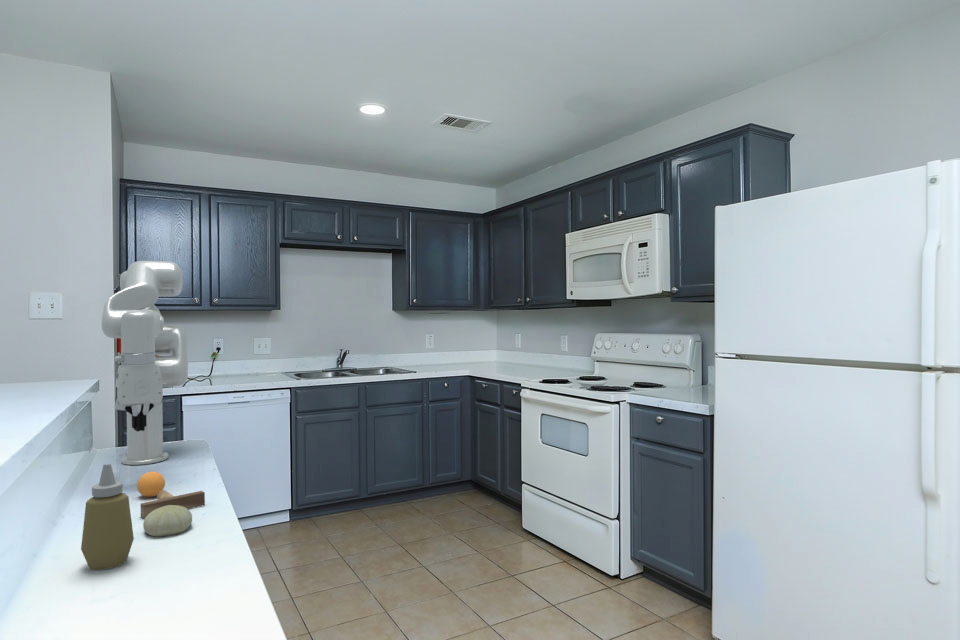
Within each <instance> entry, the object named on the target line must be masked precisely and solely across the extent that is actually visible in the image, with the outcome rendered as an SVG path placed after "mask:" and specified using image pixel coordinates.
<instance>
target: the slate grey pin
mask: <svg viewBox="0 0 960 640" xmlns="http://www.w3.org/2000/svg"><path fill="white" fill-rule="evenodd" d="M112 470H113V473H114V477H115V481H118V482H121V481H120V480H121V477H120V476H121V475H120V470H119V469H112Z"/></svg>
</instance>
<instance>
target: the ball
mask: <svg viewBox="0 0 960 640" xmlns="http://www.w3.org/2000/svg"><path fill="white" fill-rule="evenodd" d="M165 486H166V480H165V477H164V476H163V475H162V474H161V473H160V472H157V471H148V472H146V473H143V474H142V475H141V476H140V477H139V479H138V481H137V484H136V487H137V490H138V492H139V494H140V495H142V496H143V497H146V498H147V497H148V498H152V497H157V493H158V492H159V491H161V490H164V489H165Z"/></svg>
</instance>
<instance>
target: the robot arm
mask: <svg viewBox="0 0 960 640" xmlns="http://www.w3.org/2000/svg"><path fill="white" fill-rule="evenodd" d="M183 280H184V279H183V272H182V269H181V267H180V265H178V263H176V262H174V261H167V260H165V261H164V260H138V261H134V262H132V263H131V264H130V265H129V266H128V267H127V270H126V271H123V272H121V275H120V277H119V287H120V288H119V289H120V290H119V291H117V292H115V293H114V294H112V295H111V296H110V297H109V298H107V300H106V301H105V303H104V306H103V311H102V317H101V330H102V332H103V334H104V335H105V337H107V338H109V339H120V354H119V355H118V356H117V355H116V356H115V357H114V362H115V363H117V362H119V363H120V364H119V365H118V367H117V372H116V378H115V388H114V398H115V399H114V400H115V406H114V409H115V410H118V411H126V453H127V454H126V455H125V456H123V457H122V458H121V460H120V462H121V464H123V465H128V466H129V465H130V466H131V465H132V466H139V465H140V466H141V465H149V464H150V465H151V464H154V463H160V462H162V461H165V460H168V459H169V453H168V452H166V451H164V445H163V443H164V439H163V438H164V437H163V436H164V434H163V433H164V432H163V430H164V429H163V428H164V426H163V423H164V422H163V419H164V418H163V398H164V397H163V396H164V392H163V388H168V387H169V388H170V387H172V388H173V387H181V386H183V385H185V384H186V383H187V380H188V378H189V377H188V376H189V362H188V360H189V359H188V337H187V332H186V330H185V328H184V327H183V326H182V325H180V324H165V319H164V316H162V314H161V311H160V309H159V308H158V307H157V306H156V305H155V304H156V303H157V302H158V299H159V297H177V296H179V295H180V294H181V292H182V290H183V285H184V282H183Z"/></svg>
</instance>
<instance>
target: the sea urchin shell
mask: <svg viewBox="0 0 960 640" xmlns="http://www.w3.org/2000/svg"><path fill="white" fill-rule="evenodd" d="M192 523H193V513H192V512H191V511H190V509H187V508H185V507H183V506H178V505H167V506H163V507H160V508H158V509H156V510H154V511H152V512H151V513H149V514H148V515H147V516H146V518H145V519H143V523H142V526H143V530H144V532H146V533H147V535H149V536H152V537H156V538H159V537H164V536H173V535H177V534H181V533H183V532H184V531H186V530H187V529H188V528H189V527H190V526H191V524H192Z"/></svg>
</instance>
